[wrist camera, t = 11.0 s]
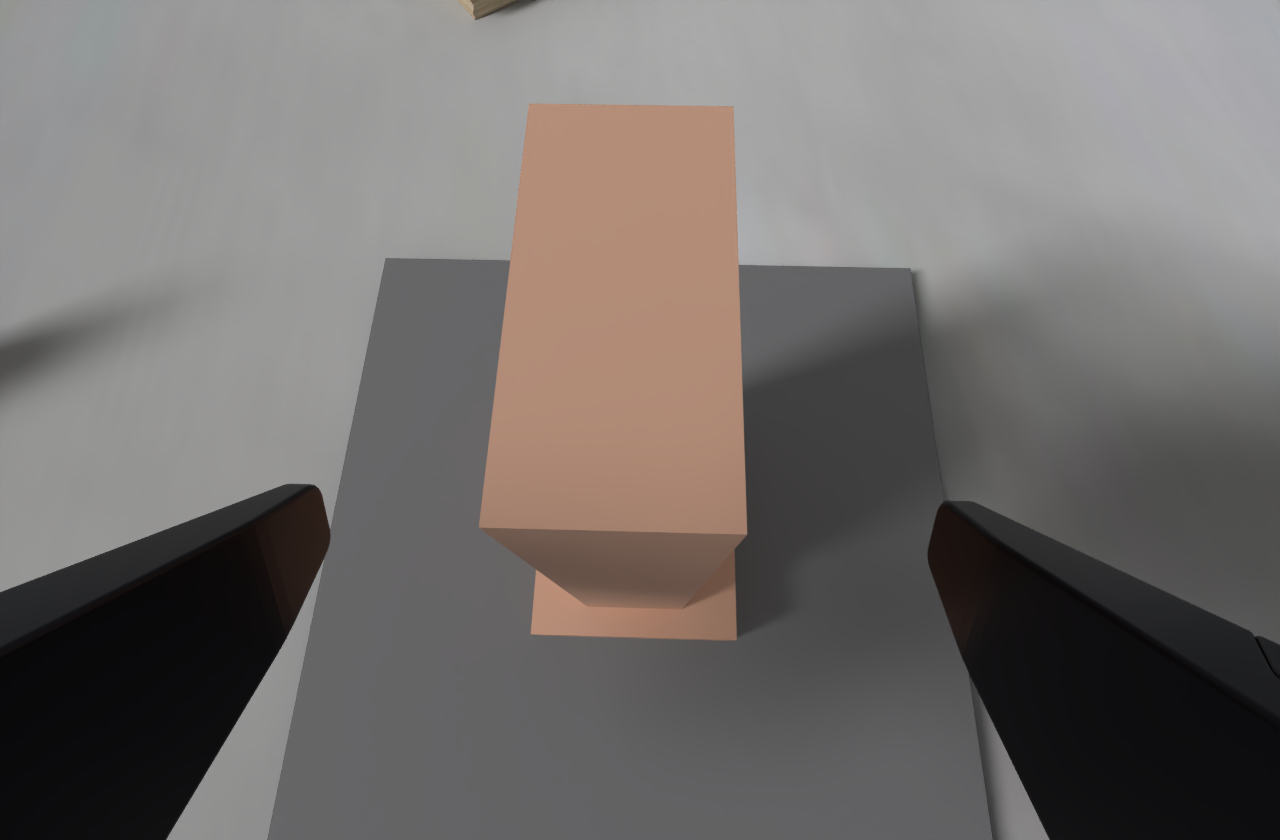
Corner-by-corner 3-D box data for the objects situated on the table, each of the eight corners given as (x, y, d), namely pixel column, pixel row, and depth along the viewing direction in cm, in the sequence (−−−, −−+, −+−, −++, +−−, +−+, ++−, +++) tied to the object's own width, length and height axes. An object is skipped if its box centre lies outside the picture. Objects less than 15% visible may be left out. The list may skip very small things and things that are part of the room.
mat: (991, 901, 15) (1002, 909, 15) (270, 874, 16) (258, 880, 15) (904, 276, 22) (910, 268, 21) (391, 266, 22) (385, 258, 21)
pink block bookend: (729, 640, 17) (915, 620, 5) (540, 635, 17) (306, 603, 5) (724, 421, 19) (848, 63, 7) (557, 418, 19) (419, 58, 8)
